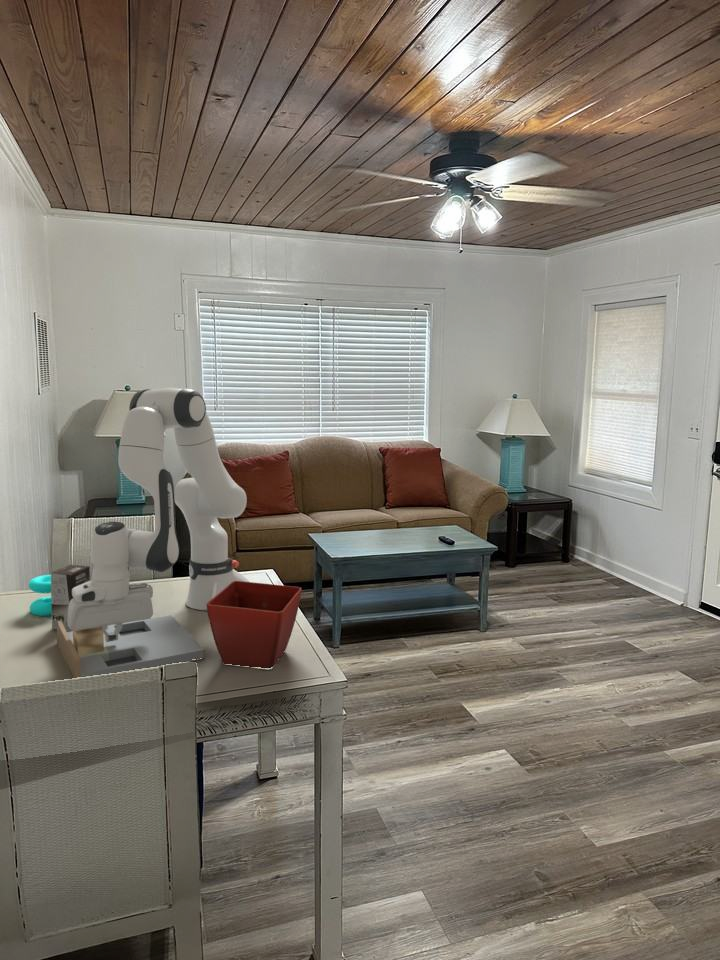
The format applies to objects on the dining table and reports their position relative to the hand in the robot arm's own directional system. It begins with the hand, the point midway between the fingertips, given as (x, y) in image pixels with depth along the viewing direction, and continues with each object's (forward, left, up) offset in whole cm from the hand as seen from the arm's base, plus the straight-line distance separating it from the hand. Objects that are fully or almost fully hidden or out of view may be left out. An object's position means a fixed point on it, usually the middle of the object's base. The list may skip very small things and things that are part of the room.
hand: (111, 640), depth 167 cm
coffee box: (+5, -25, -4) cm, 26 cm away
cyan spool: (+9, -39, -4) cm, 40 cm away
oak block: (+5, 0, -1) cm, 6 cm away
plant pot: (-31, +19, -4) cm, 36 cm away
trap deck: (-4, 0, -4) cm, 6 cm away
